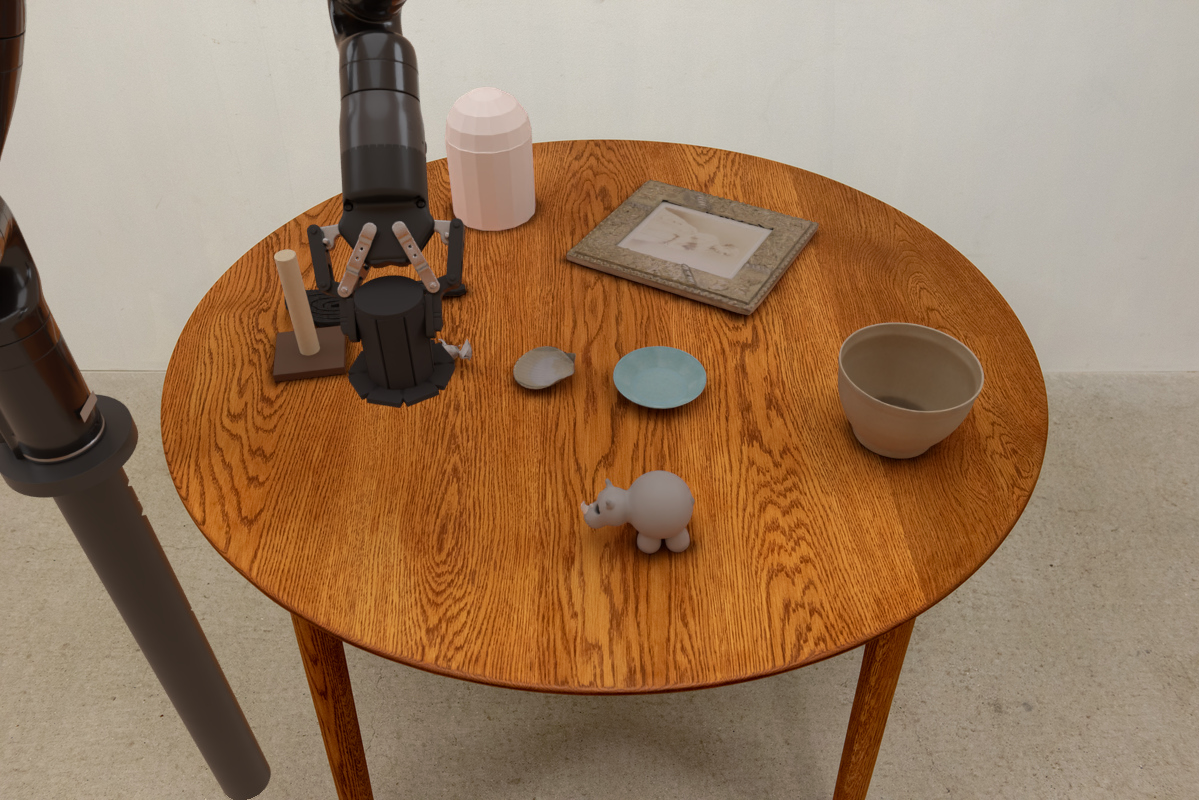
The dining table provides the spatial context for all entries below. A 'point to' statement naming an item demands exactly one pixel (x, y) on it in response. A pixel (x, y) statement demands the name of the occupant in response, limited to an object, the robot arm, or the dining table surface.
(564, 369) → the seashell
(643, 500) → the round bodied animal figurine
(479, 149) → the container
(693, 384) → the saucer
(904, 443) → the planter bowl
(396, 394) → the hat
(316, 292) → the hairbrush
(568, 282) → the dining table surface
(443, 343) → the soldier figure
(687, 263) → the picture frame
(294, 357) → the stand
